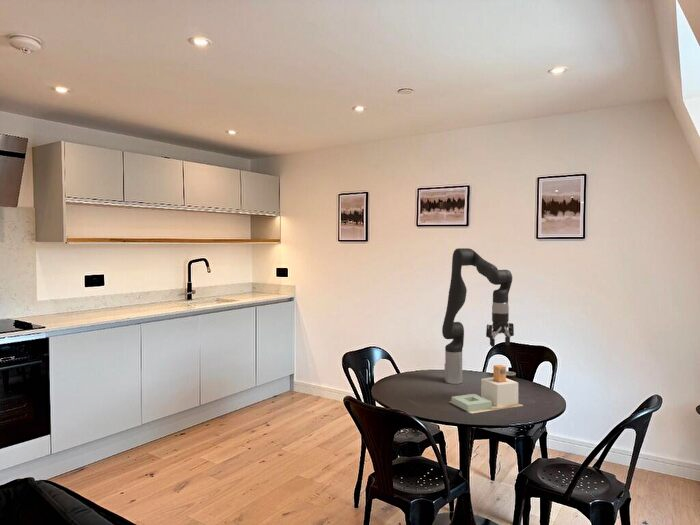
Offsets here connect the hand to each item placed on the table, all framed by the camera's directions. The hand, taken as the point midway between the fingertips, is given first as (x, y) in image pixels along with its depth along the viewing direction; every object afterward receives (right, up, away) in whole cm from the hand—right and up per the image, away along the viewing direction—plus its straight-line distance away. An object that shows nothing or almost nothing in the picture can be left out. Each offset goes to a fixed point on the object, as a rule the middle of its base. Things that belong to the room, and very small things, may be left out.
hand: (499, 345), depth 228 cm
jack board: (-7, -28, -2) cm, 29 cm away
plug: (0, -20, +1) cm, 20 cm away
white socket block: (0, -27, +1) cm, 27 cm away
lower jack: (-15, -27, -5) cm, 31 cm away
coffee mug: (+8, -27, +19) cm, 34 cm away
